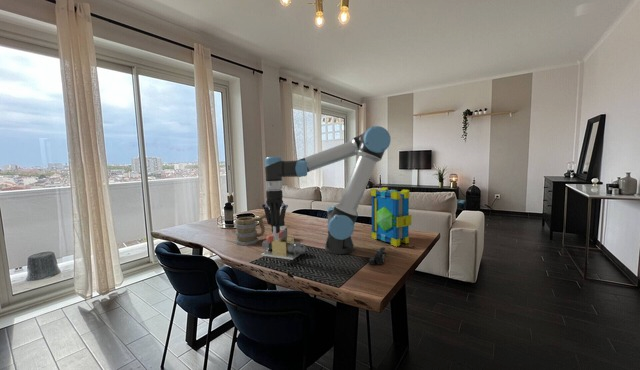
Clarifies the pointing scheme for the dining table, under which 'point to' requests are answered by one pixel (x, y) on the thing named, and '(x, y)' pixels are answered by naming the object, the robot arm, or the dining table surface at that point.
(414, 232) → the dining table surface
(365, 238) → the dining table surface
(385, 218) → the decorative book
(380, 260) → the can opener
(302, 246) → the valve
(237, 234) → the tankard
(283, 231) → the lever
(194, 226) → the dining table surface
